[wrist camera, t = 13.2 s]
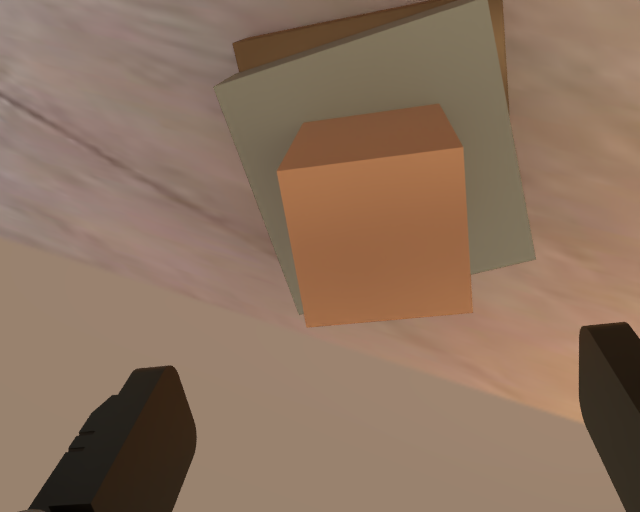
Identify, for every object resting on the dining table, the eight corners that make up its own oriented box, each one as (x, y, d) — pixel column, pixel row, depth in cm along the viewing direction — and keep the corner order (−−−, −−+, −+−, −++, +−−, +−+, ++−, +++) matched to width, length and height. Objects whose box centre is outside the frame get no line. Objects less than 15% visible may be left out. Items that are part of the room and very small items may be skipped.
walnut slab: (249, 36, 30) (232, 43, 27) (485, -12, 28) (501, -12, 25) (297, 245, 35) (287, 275, 31) (501, 216, 33) (517, 244, 29)
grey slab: (235, 74, 27) (213, 86, 23) (470, -4, 25) (487, -3, 21) (308, 277, 31) (299, 315, 28) (516, 225, 29) (535, 259, 25)
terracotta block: (303, 122, 24) (276, 171, 17) (439, 103, 23) (463, 147, 17) (323, 244, 26) (306, 327, 20) (448, 231, 25) (472, 312, 19)
